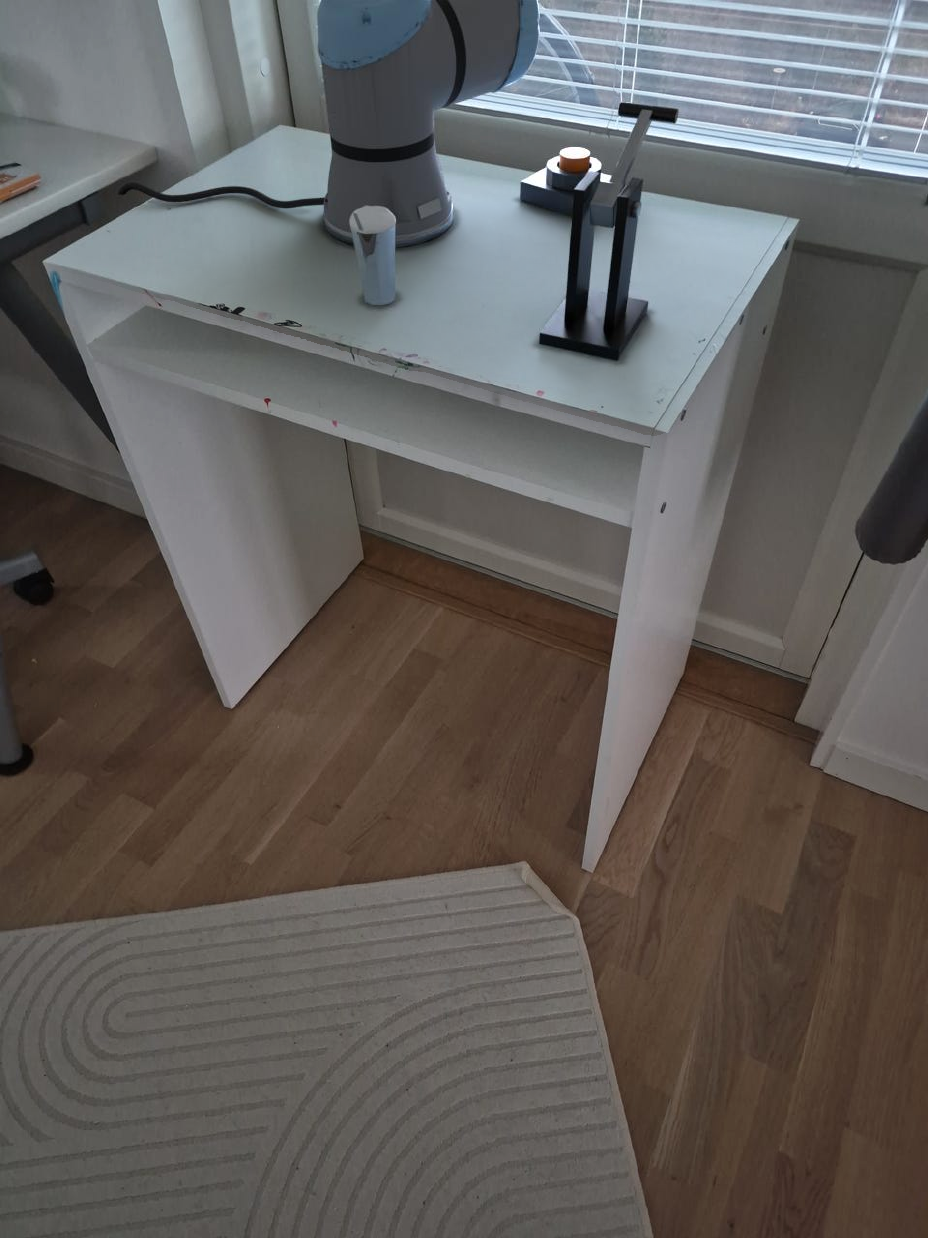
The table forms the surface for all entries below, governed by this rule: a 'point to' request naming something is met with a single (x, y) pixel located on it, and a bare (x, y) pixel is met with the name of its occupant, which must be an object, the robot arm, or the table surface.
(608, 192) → the switch lever
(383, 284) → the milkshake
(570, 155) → the button
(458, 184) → the table surface
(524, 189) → the control block
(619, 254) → the stand
